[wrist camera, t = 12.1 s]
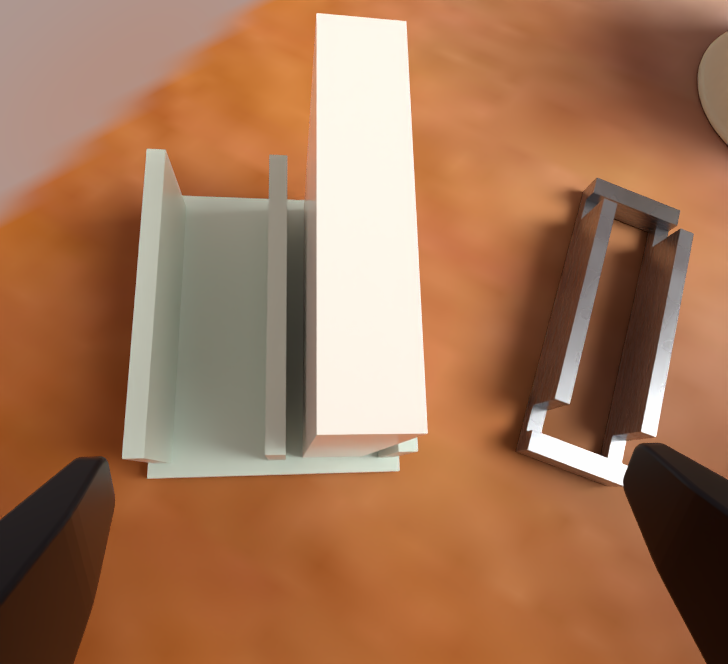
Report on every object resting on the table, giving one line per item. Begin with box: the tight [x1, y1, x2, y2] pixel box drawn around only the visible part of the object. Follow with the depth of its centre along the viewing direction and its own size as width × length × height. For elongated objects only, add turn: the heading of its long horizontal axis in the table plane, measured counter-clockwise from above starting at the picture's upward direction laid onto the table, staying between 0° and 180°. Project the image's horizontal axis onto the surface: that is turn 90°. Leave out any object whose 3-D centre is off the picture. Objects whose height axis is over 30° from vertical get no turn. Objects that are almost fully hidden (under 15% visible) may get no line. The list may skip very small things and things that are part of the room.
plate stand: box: [516, 178, 694, 487], centre depth 23 cm, size 13×4×2 cm, turn 161°
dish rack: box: [122, 149, 418, 479], centre depth 20 cm, size 11×9×5 cm
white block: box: [302, 13, 428, 458], centre depth 17 cm, size 10×2×10 cm, turn 2°
